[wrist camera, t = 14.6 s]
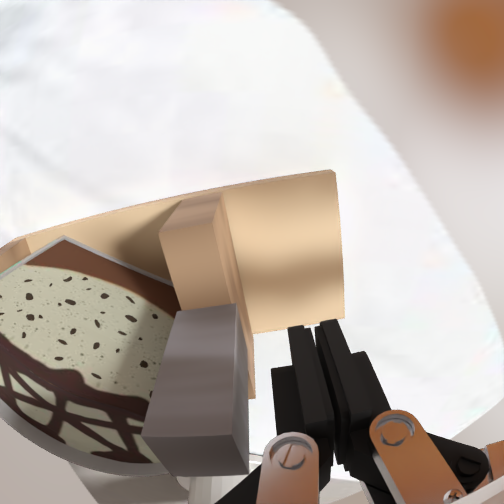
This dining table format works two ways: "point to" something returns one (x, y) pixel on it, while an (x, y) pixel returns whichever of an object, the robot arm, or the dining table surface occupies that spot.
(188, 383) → the block
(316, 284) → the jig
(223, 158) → the dining table surface
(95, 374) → the food container
